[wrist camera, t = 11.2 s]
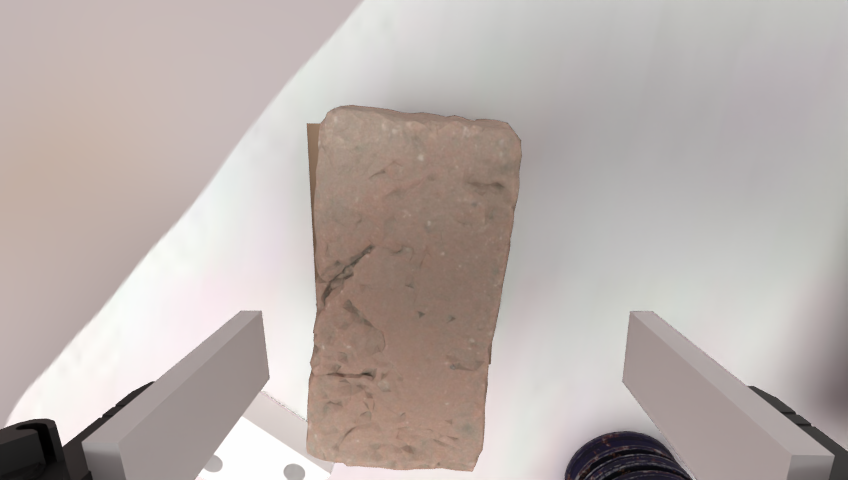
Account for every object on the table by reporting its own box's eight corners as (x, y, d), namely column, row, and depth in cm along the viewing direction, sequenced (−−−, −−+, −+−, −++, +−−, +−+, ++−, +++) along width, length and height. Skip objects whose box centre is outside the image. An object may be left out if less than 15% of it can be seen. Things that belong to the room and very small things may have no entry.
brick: (339, 107, 19) (309, 97, 15) (511, 123, 19) (536, 118, 15) (328, 403, 23) (302, 467, 19) (471, 417, 23) (479, 484, 19)
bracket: (176, 414, 35) (107, 486, 28) (216, 358, 34) (155, 418, 27) (297, 492, 37) (262, 579, 30) (341, 442, 35) (316, 520, 28)
